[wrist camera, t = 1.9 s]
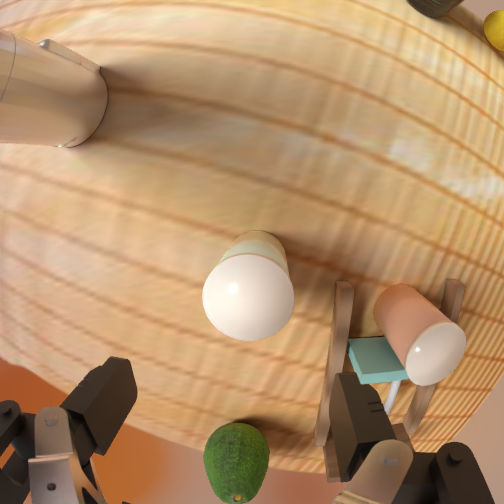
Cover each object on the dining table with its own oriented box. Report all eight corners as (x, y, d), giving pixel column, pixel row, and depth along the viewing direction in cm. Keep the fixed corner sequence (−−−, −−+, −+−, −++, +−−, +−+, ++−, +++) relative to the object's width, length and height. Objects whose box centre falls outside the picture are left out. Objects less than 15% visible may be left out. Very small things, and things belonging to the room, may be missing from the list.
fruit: (273, 444, 34) (271, 514, 22) (217, 444, 34) (202, 511, 23) (267, 406, 32) (263, 486, 20) (204, 408, 33) (182, 482, 21)
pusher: (347, 338, 29) (362, 374, 22) (432, 332, 28) (458, 361, 22) (336, 396, 31) (345, 433, 24) (415, 387, 30) (433, 418, 24)
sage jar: (225, 229, 27) (200, 255, 18) (288, 229, 27) (296, 256, 17) (226, 288, 29) (205, 338, 19) (286, 289, 28) (292, 341, 19)
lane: (336, 280, 28) (358, 316, 20) (454, 278, 27) (495, 305, 19) (312, 438, 33) (317, 483, 25) (407, 427, 32) (423, 465, 24)
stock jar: (376, 283, 27) (417, 328, 18) (424, 282, 27) (474, 321, 17) (368, 333, 29) (399, 390, 19) (414, 330, 28) (454, 379, 19)
